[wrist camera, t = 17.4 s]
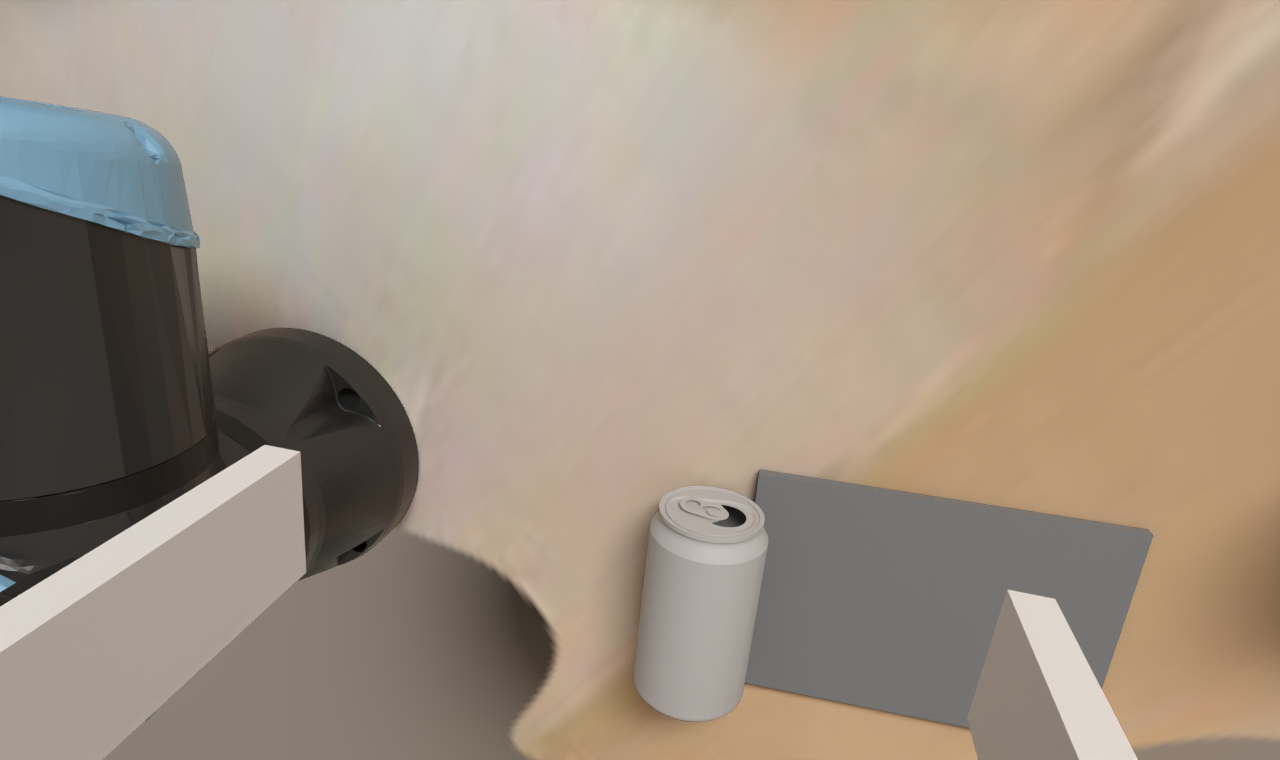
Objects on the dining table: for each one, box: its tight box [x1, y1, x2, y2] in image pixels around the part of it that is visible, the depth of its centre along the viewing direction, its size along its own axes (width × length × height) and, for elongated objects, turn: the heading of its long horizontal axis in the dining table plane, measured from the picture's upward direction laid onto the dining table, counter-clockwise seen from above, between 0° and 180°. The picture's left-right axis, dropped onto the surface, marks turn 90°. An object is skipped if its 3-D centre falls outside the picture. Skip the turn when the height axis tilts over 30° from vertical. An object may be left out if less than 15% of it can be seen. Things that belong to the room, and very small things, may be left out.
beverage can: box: [634, 486, 768, 722], centre depth 44 cm, size 6×6×12 cm
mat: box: [745, 470, 1153, 728], centre depth 44 cm, size 20×14×1 cm
